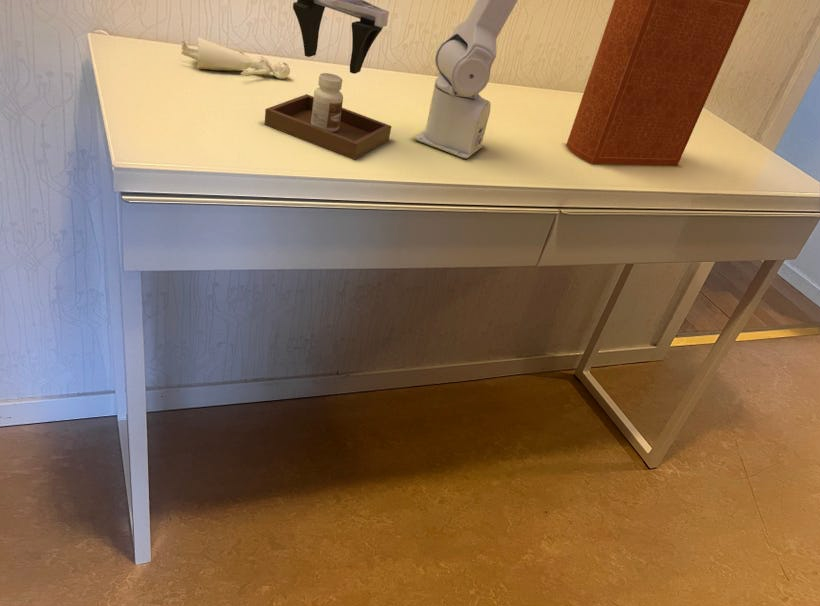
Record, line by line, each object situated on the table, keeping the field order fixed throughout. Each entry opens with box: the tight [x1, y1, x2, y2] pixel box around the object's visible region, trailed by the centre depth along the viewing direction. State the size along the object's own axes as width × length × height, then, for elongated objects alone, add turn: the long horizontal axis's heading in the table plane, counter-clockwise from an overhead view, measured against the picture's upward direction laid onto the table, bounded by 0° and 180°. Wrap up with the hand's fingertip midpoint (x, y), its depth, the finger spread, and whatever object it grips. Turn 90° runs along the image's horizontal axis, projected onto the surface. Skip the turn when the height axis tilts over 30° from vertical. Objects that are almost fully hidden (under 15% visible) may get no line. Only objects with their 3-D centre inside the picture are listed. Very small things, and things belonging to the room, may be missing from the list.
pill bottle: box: [311, 72, 344, 132], centre depth 106 cm, size 4×4×8 cm
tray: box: [264, 93, 392, 160], centre depth 108 cm, size 16×12×2 cm
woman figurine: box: [181, 36, 291, 80], centre depth 120 cm, size 12×4×18 cm
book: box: [565, 0, 751, 167], centre depth 123 cm, size 23×8×30 cm, turn 117°
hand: (332, 63), depth 103 cm, fingers open, 7 cm apart
